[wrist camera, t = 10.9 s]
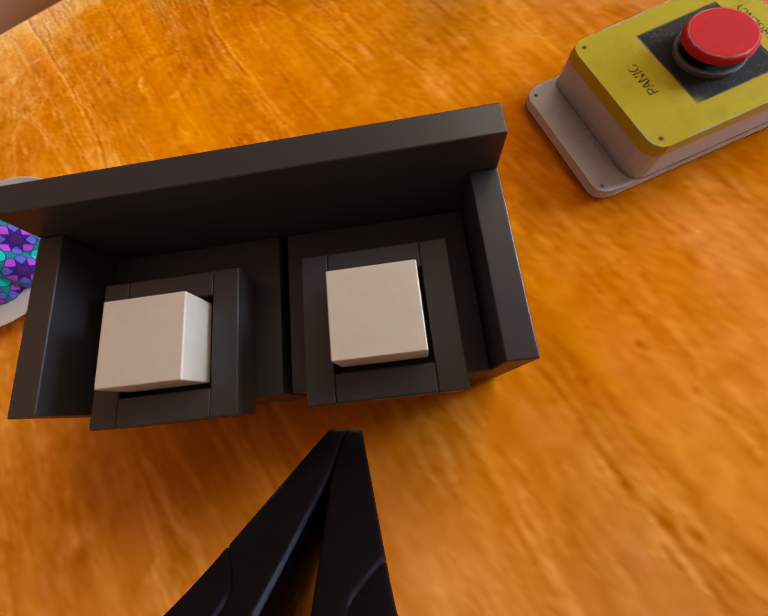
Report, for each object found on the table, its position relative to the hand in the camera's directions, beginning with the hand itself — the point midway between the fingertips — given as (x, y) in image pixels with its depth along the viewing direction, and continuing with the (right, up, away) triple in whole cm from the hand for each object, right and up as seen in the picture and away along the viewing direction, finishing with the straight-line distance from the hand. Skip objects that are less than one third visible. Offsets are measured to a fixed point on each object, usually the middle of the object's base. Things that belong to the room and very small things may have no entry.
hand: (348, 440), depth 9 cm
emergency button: (+19, +17, +15) cm, 30 cm away
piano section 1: (+1, +3, +13) cm, 13 cm away
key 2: (-9, +2, +7) cm, 11 cm away
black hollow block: (-3, +2, +13) cm, 14 cm away
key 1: (+1, +3, +6) cm, 7 cm away
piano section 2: (-8, +1, +13) cm, 16 cm away
